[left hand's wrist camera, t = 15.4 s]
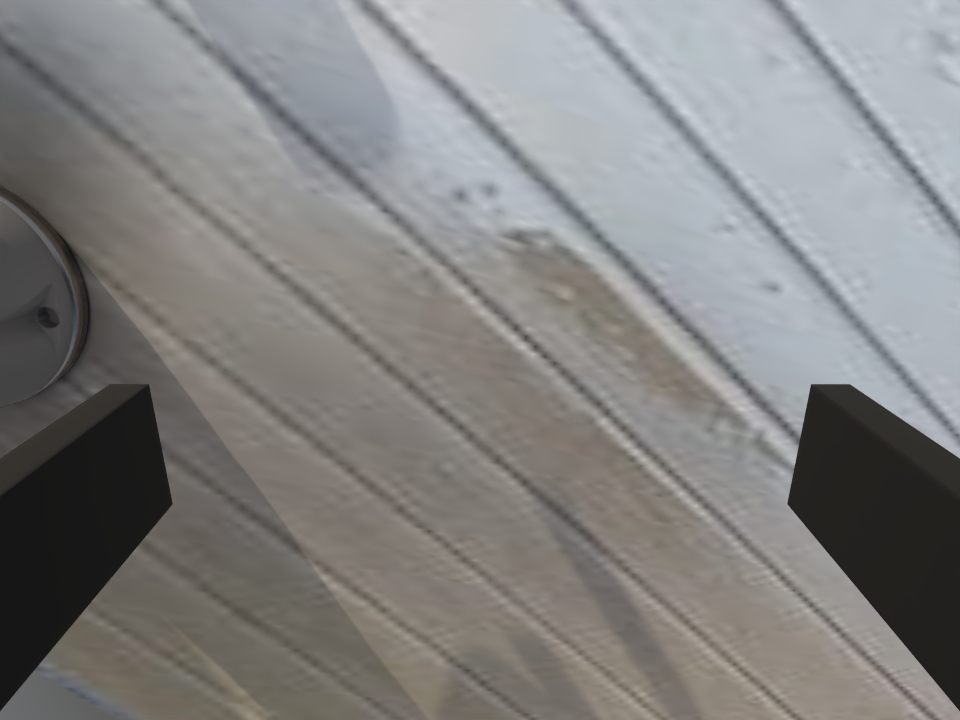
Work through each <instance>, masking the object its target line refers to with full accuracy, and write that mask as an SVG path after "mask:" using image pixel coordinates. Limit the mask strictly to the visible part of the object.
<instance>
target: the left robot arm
mask: <svg viewBox="0 0 960 720" xmlns="http://www.w3.org/2000/svg"><path fill="white" fill-rule="evenodd" d="M87 327H88V303H87V296H86V291H85V287H84V283H83V280H82V277H81V274H80V272H79V269H78V267H77V265H76V263H75V261H74V259H73V257H72V255H71V253H70V251H69V250H68V248H67V246H66V245H65V243H64V242H63V240H62V239H61V238H60V236H59V235H58V234H57V232H56V231H55V230H54V229H53V228H52V227H51V225H50V224H49V223H48V222H47V221H46V220H45V219H44V218H43V217H42V216H41V215H40V214H39V213H38V212H37V211H36V210H34V209H33V208H32V207H31V206H30V205H29V204H27V203H26V202H25V201H23V200H22V199H20V198H19V197H18V196H16V195H15V194H13V193H11V192H10V191H8V190H6V189H5V188H3V187H1V186H0V407H3V406H6V405H10V404H14V403H17V402H20V401H23V400H25V399H28V398H29V397H31V396H33V395H35V394H37V393H39V392H40V391H42V390H44V389H45V388H47V387H49V386H51V385H52V384H53V383H55V382H56V381H58V380H59V379H60V378H61V377H62V376H64V375H65V374H66V373H67V371H68V370H69V369H70V368H71V367H72V366H73V364H74V363H75V361H76V360H77V358H78V356H79V354H80V352H81V350H82V347H83V344H84V342H85V338H86V333H87ZM171 505H172V499H171V493H170V488H169V483H168V478H167V473H166V468H165V463H164V458H163V453H162V448H161V443H160V438H159V433H158V428H157V423H156V418H155V413H154V408H153V403H152V398H151V393H150V388H149V384H110V385H109V386H107V387H106V388H104V389H103V390H101V391H100V392H98V393H97V394H95V395H94V396H92V397H91V398H89V399H88V400H86V401H85V402H83V403H82V404H80V405H79V406H78V407H76V408H75V409H73V410H72V411H70V412H69V413H67V414H66V415H64V416H63V417H61V418H60V419H58V420H57V421H55V422H54V423H52V424H51V425H49V426H48V427H46V428H45V429H43V430H42V431H40V432H39V433H37V434H36V435H35V436H33V437H32V438H30V439H29V440H27V441H26V442H24V443H23V444H21V445H20V446H18V447H17V448H15V449H14V450H12V451H11V452H9V453H8V454H6V455H5V456H3V457H2V458H0V711H1V709H2V708H3V707H4V706H5V705H6V703H7V702H8V701H9V700H10V699H11V697H12V696H13V695H14V694H15V693H16V691H17V690H18V689H19V688H20V687H21V685H22V684H23V683H24V682H25V681H26V679H27V678H28V677H29V676H30V675H31V673H32V672H33V671H34V670H35V669H36V667H37V666H38V665H39V664H40V663H41V661H42V660H43V659H44V658H45V657H46V655H47V654H48V653H49V652H50V651H51V649H52V648H53V647H54V646H55V645H56V643H57V642H58V641H59V640H60V639H61V637H62V636H63V635H64V634H65V633H66V631H67V630H68V629H69V628H70V627H71V625H72V624H73V623H74V622H75V621H76V619H77V618H78V617H79V616H80V615H81V613H82V612H83V611H84V610H85V609H86V607H87V606H88V605H89V604H90V603H91V601H92V600H93V599H94V598H95V597H96V595H97V594H98V593H99V592H100V591H101V589H102V588H103V587H104V586H105V585H106V583H107V582H108V581H109V580H110V579H111V577H112V576H113V575H114V574H115V573H116V571H117V570H118V569H119V568H120V567H121V565H122V564H123V563H124V562H125V561H126V559H127V558H128V557H129V556H130V555H131V553H132V552H133V551H134V550H135V549H136V547H137V546H138V545H139V544H140V543H141V541H142V540H143V539H144V538H145V537H146V535H147V534H148V533H149V532H150V531H151V529H152V528H153V527H154V526H155V525H156V523H157V522H158V521H159V520H160V519H161V517H162V516H163V515H164V514H165V513H166V511H167V510H168V509H169V508H170V507H171ZM788 505H789V507H790V508H791V509H792V510H793V511H794V513H795V514H796V515H797V516H798V517H799V519H800V520H801V521H802V522H803V523H804V525H805V526H806V527H807V528H808V529H809V531H810V532H811V533H812V534H813V535H814V537H815V538H816V539H817V540H818V541H819V543H820V544H821V545H822V546H823V547H824V549H825V550H826V551H827V552H828V553H829V555H830V556H831V557H832V558H833V559H834V561H835V562H836V563H837V564H838V565H839V567H840V568H841V569H842V570H843V571H844V573H845V574H846V575H847V576H848V577H849V579H850V580H851V581H852V582H853V583H854V585H855V586H856V587H857V588H858V589H859V591H860V592H861V593H862V594H863V595H864V597H865V598H866V599H867V600H868V601H869V603H870V604H871V605H872V606H873V607H874V609H875V610H876V611H877V612H878V613H879V615H880V616H881V617H882V618H883V619H884V621H885V622H886V623H887V624H888V625H889V627H890V628H891V629H892V630H893V631H894V633H895V634H896V635H897V636H898V637H899V639H900V640H901V641H902V642H903V643H904V645H905V646H906V647H907V648H908V649H909V651H910V652H911V653H912V654H913V655H914V657H915V658H916V659H917V660H918V661H919V663H920V664H921V665H922V666H923V667H924V669H925V670H926V671H927V672H928V673H929V675H930V676H931V677H932V678H933V679H934V681H935V682H936V683H937V684H938V685H939V687H940V688H941V689H942V690H943V691H944V693H945V694H946V695H947V696H948V697H949V699H950V700H951V701H952V702H953V703H954V705H955V706H956V707H957V708H958V709H959V711H960V458H958V457H957V456H955V455H954V454H952V453H951V452H949V451H948V450H946V449H945V448H943V447H942V446H940V445H939V444H937V443H936V442H934V441H933V440H931V439H930V438H928V437H927V436H925V435H924V434H923V433H921V432H920V431H918V430H917V429H915V428H914V427H912V426H911V425H909V424H908V423H906V422H905V421H903V420H902V419H900V418H899V417H897V416H896V415H894V414H893V413H891V412H890V411H888V410H887V409H885V408H884V407H882V406H881V405H880V404H878V403H877V402H875V401H874V400H872V399H871V398H869V397H868V396H866V395H865V394H863V393H862V392H860V391H859V390H857V389H856V388H854V387H853V386H851V385H850V384H811V388H810V393H809V398H808V403H807V408H806V413H805V418H804V423H803V428H802V433H801V438H800V443H799V448H798V453H797V458H796V463H795V468H794V473H793V478H792V483H791V488H790V493H789V499H788Z"/></svg>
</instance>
